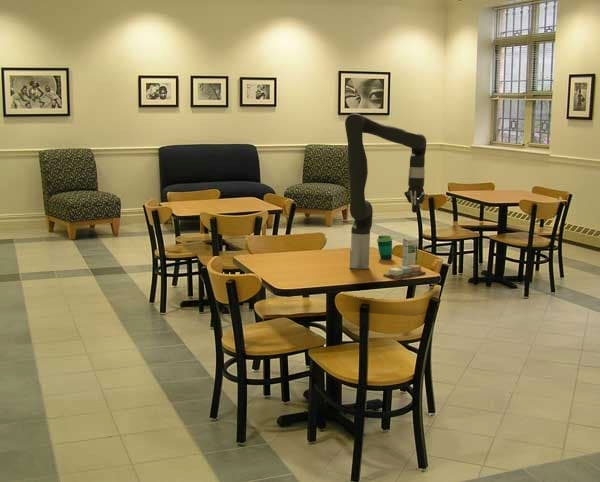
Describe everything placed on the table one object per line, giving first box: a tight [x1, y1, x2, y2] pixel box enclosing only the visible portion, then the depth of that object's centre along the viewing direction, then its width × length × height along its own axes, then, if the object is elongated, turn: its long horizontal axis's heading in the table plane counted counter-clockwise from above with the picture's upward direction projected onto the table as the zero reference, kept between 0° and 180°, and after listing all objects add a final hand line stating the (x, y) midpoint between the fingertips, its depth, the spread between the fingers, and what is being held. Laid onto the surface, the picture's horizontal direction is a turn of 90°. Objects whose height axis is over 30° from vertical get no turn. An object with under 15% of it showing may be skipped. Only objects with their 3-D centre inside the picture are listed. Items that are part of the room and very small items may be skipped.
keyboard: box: [383, 270, 427, 281], centre depth 382 cm, size 20×9×1 cm, turn 131°
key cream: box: [387, 267, 403, 276], centre depth 378 cm, size 5×5×4 cm
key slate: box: [397, 265, 412, 274], centre depth 382 cm, size 5×5×4 cm
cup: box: [376, 234, 393, 261], centre depth 420 cm, size 8×8×12 cm
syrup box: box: [401, 237, 419, 267], centre depth 401 cm, size 6×6×14 cm
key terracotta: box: [407, 264, 422, 273], centre depth 386 cm, size 5×5×4 cm
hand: (414, 212), depth 386 cm, fingers closed
